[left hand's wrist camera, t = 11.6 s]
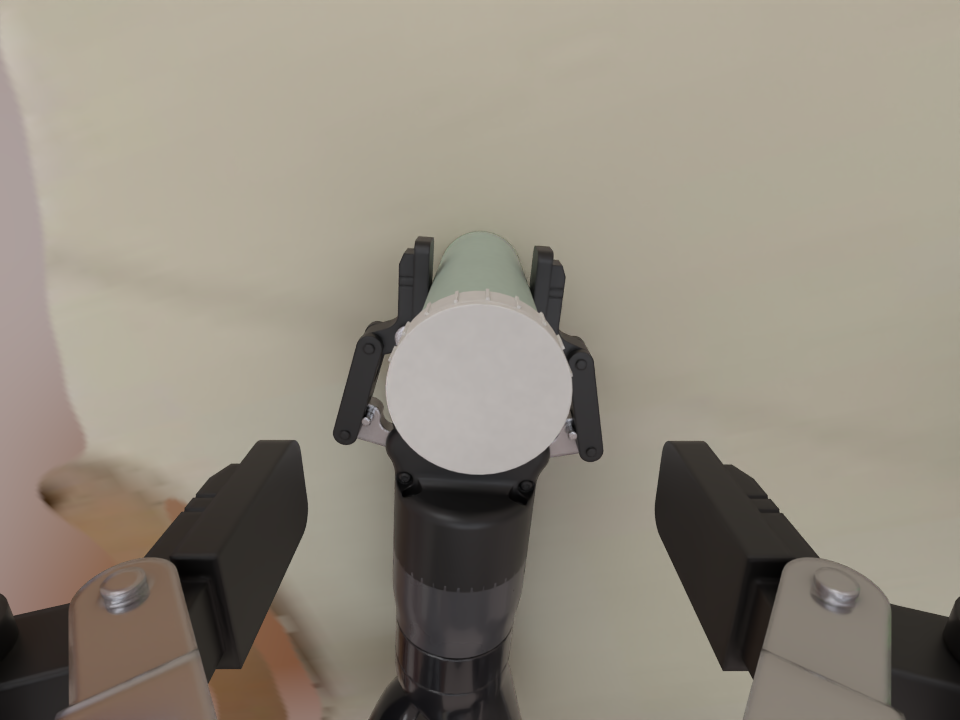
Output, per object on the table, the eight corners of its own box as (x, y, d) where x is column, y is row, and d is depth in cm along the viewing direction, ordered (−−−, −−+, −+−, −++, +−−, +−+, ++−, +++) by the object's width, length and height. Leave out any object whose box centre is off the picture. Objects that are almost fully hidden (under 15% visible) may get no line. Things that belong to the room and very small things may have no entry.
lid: (394, 279, 16) (385, 292, 15) (579, 295, 16) (589, 310, 15) (388, 443, 18) (380, 469, 17) (554, 456, 18) (560, 483, 17)
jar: (442, 227, 31) (402, 304, 15) (525, 235, 31) (570, 318, 15) (437, 308, 33) (396, 451, 17) (516, 315, 33) (547, 464, 17)
